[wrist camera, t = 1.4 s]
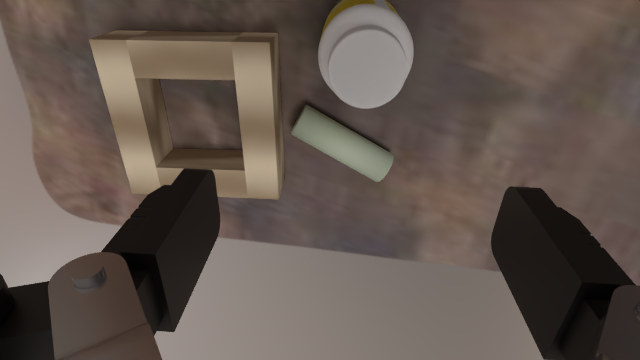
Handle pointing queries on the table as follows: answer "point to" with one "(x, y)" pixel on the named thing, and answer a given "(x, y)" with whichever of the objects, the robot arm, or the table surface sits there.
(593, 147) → the table surface
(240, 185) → the socket block
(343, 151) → the lying dowel
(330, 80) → the supplement bottle
